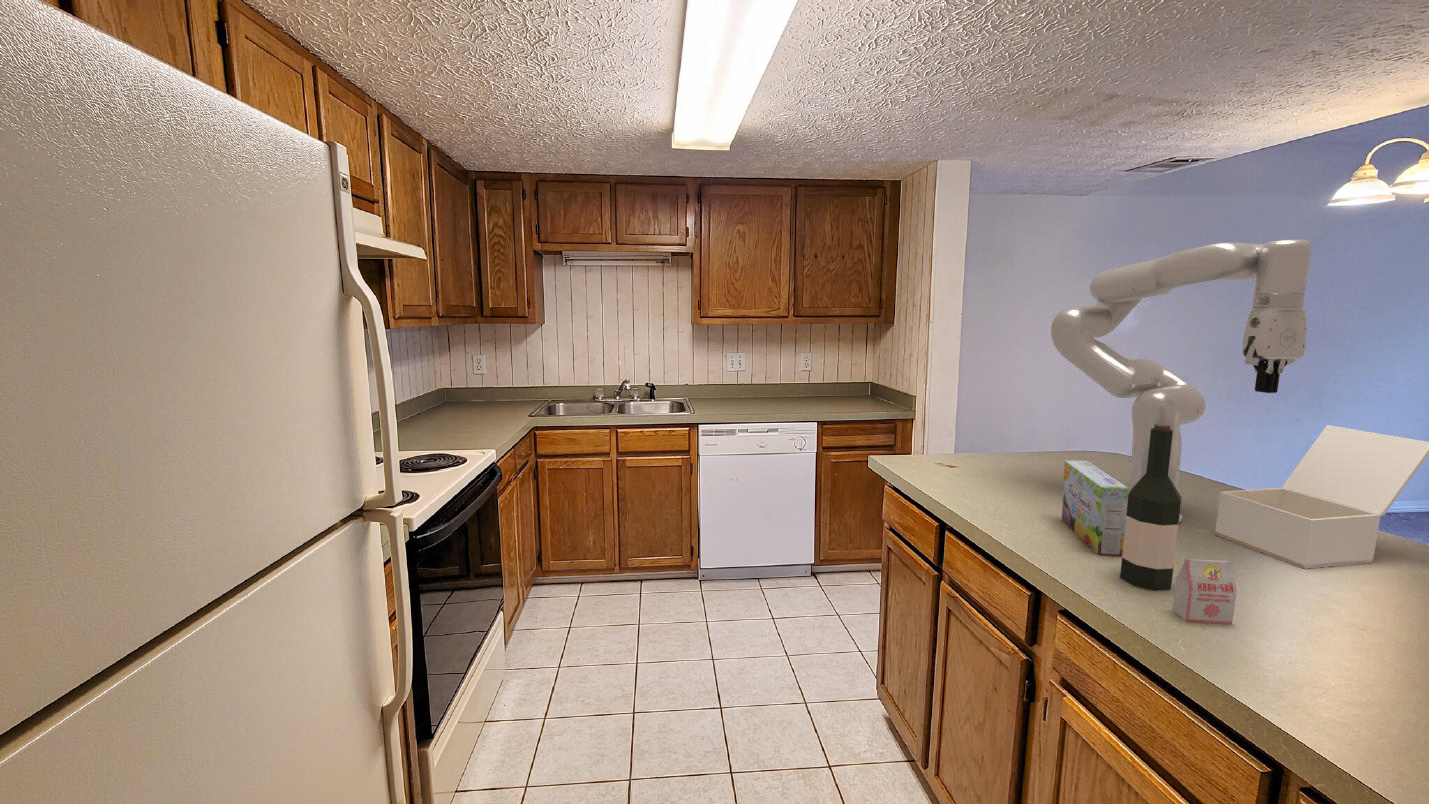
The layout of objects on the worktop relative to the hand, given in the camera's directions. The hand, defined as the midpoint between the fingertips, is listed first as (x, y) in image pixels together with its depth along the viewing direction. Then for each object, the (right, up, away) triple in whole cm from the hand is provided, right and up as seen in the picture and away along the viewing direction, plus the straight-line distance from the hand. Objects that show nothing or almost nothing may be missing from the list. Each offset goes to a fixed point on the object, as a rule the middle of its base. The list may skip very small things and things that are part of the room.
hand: (1265, 391), depth 123 cm
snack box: (-31, -33, +10) cm, 46 cm away
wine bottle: (-33, -36, -11) cm, 50 cm away
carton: (+7, -33, +2) cm, 34 cm away
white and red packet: (-34, -38, -24) cm, 56 cm away
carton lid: (+19, -16, +1) cm, 25 cm away
